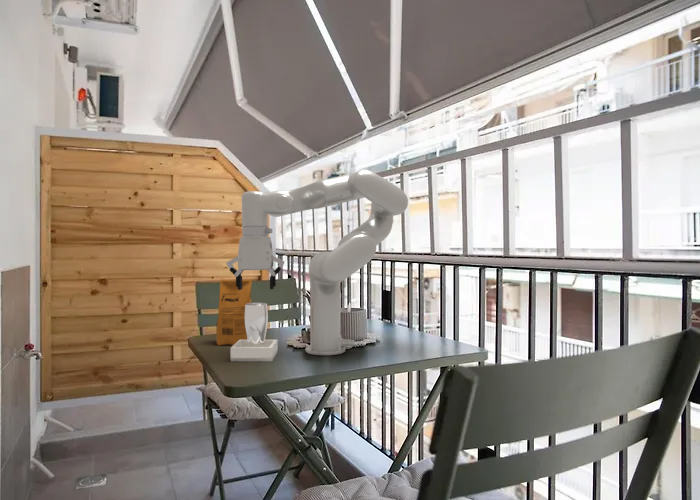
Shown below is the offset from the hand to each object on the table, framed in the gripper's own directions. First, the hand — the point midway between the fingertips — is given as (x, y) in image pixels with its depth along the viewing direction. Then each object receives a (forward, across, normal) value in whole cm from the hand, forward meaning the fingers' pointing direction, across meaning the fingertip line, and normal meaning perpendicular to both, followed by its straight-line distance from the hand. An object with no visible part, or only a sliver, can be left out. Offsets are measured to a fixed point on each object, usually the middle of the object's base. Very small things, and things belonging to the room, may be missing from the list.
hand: (256, 289), depth 149 cm
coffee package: (+21, +12, -21) cm, 32 cm away
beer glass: (+20, 0, 0) cm, 20 cm away
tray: (+20, +1, 0) cm, 20 cm away
